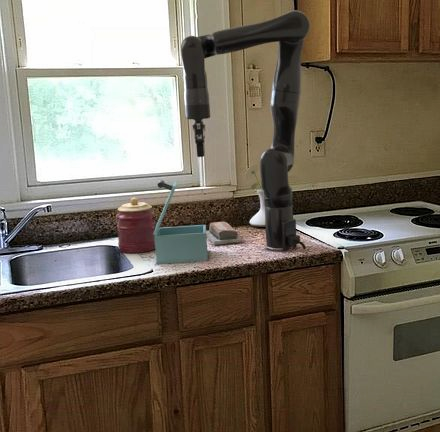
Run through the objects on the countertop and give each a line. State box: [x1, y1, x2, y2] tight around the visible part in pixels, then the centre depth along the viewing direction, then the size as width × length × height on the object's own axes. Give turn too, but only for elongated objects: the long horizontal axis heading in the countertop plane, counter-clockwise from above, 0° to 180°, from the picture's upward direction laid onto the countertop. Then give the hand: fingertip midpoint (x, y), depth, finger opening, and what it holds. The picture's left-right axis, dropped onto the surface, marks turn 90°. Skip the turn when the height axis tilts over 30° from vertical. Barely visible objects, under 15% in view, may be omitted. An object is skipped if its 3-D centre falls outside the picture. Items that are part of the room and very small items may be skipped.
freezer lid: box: [153, 179, 179, 235], centre depth 200 cm, size 16×13×5 cm
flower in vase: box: [243, 161, 266, 228], centre depth 243 cm, size 13×11×25 cm
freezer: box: [154, 224, 208, 265], centre depth 203 cm, size 16×13×9 cm
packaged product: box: [206, 221, 243, 246], centre depth 226 cm, size 18×5×10 cm
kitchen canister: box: [115, 197, 157, 254], centre depth 216 cm, size 13×13×18 cm
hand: (200, 155), depth 201 cm, fingers open, 8 cm apart
